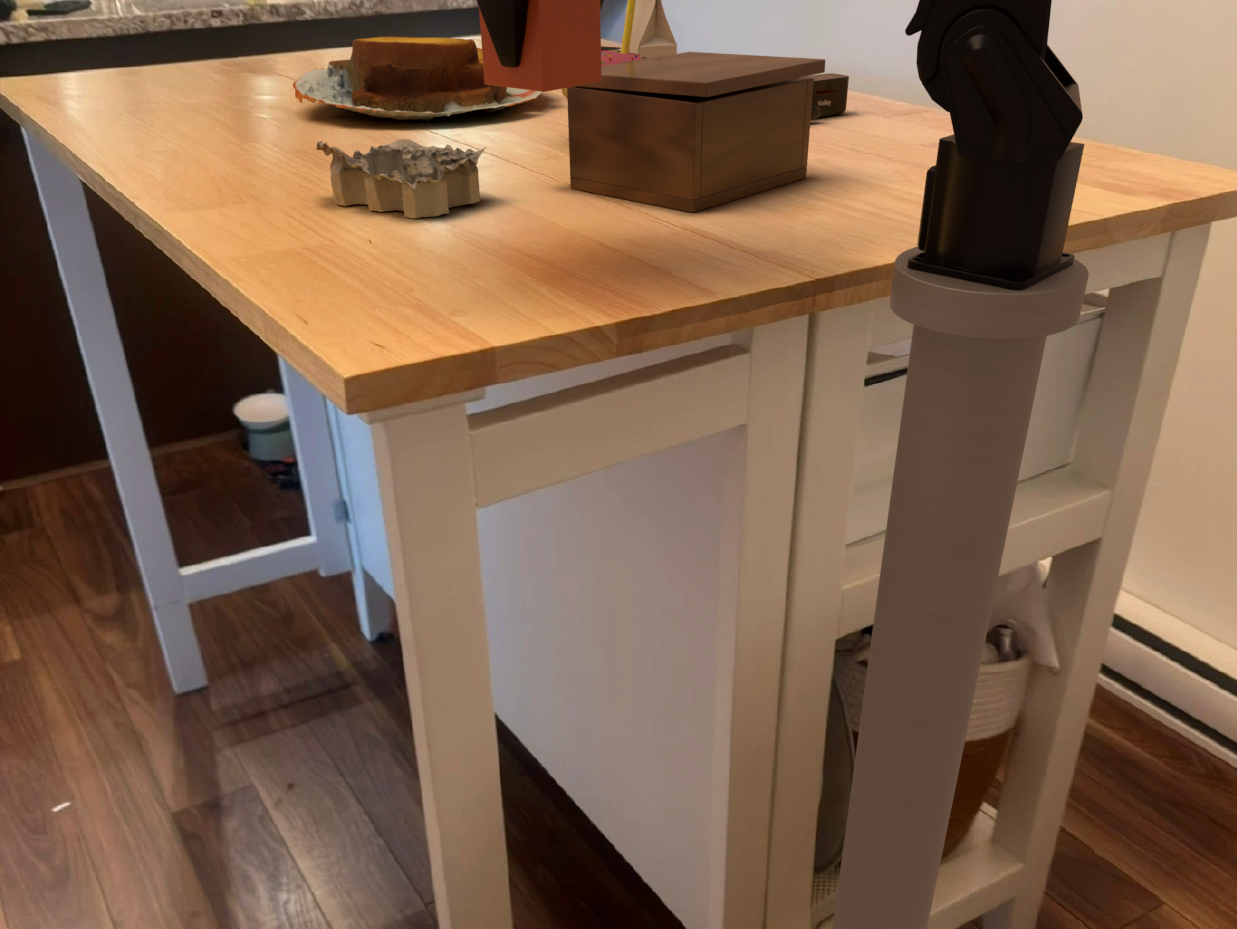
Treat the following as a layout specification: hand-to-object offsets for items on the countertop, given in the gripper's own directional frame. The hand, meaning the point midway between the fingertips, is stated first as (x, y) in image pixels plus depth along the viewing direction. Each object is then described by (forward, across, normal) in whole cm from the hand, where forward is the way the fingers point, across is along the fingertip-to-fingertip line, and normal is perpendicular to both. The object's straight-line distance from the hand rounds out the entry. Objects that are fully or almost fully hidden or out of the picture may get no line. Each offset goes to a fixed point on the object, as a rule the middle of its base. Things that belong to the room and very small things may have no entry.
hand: (543, 61), depth 61 cm
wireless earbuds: (+11, -50, -15) cm, 54 cm away
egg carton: (+11, -6, -20) cm, 23 cm away
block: (+1, 0, 0) cm, 1 cm away
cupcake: (+11, -31, -22) cm, 40 cm away
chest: (+11, -22, -8) cm, 26 cm away
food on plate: (+11, -33, -49) cm, 60 cm away
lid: (+4, -22, -7) cm, 24 cm away
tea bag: (+11, -45, -30) cm, 55 cm away
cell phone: (+11, -70, -64) cm, 95 cm away
